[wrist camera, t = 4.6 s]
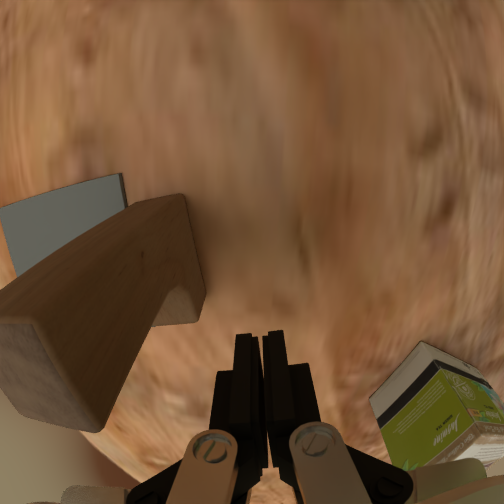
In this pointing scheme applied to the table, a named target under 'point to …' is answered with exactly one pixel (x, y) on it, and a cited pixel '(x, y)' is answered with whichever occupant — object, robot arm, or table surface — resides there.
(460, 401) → the tea box
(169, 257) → the wooden block
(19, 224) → the mat
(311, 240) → the table surface
